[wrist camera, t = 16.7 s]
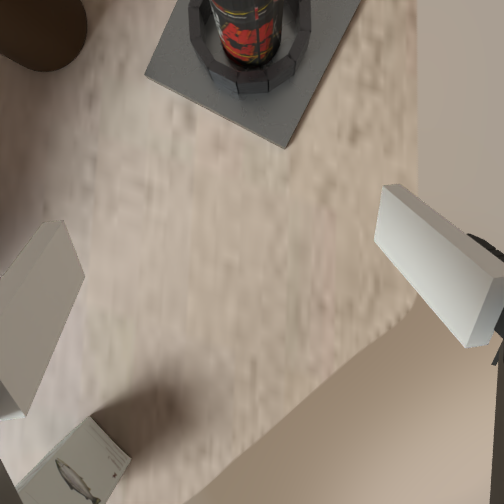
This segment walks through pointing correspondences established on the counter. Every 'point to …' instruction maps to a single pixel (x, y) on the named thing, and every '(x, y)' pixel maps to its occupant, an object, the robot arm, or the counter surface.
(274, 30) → the deodorant
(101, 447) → the supplement box
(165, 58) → the duct flange
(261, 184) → the counter surface
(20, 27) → the olive oil
